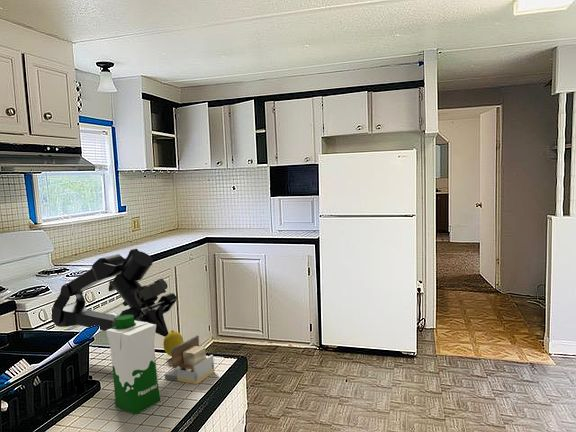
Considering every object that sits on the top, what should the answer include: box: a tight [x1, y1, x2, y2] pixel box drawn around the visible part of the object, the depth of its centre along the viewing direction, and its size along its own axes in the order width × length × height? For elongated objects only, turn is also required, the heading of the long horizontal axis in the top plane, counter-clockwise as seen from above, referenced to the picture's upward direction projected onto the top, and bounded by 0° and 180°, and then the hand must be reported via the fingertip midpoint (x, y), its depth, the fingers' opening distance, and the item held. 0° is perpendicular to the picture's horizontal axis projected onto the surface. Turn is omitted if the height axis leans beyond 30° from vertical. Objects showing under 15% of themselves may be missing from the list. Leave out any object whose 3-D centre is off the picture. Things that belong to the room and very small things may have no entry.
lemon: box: [163, 329, 185, 357], centre depth 128 cm, size 6×6×8 cm
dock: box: [164, 354, 215, 385], centre depth 115 cm, size 10×7×4 cm
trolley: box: [171, 335, 207, 372], centre depth 115 cm, size 5×10×8 cm, turn 154°
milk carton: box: [105, 314, 162, 416], centre depth 101 cm, size 9×9×20 cm
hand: (166, 335), depth 118 cm, fingers closed
